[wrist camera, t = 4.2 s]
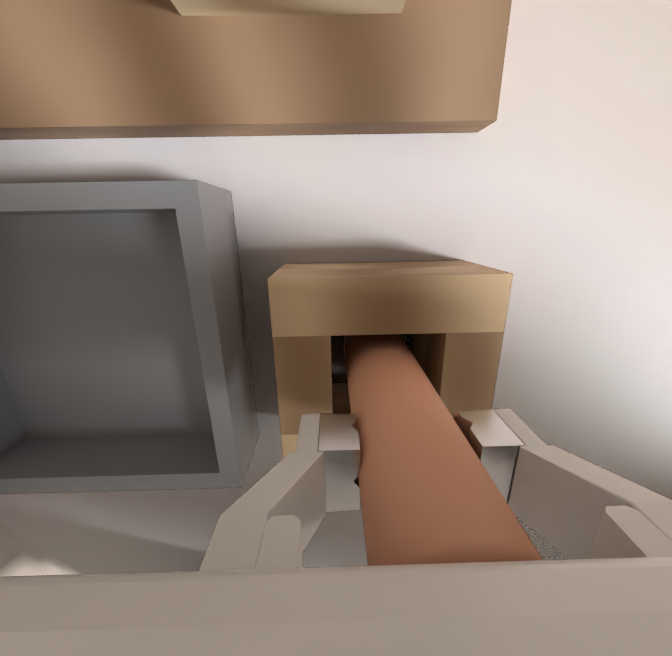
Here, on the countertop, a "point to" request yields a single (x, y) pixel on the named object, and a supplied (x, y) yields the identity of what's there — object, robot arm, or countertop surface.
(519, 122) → the countertop surface
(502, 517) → the dowel
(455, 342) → the socket block
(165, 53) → the board
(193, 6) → the cream rectangular block
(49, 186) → the tray
